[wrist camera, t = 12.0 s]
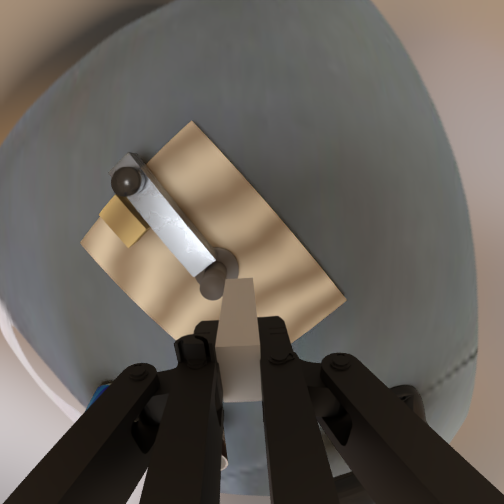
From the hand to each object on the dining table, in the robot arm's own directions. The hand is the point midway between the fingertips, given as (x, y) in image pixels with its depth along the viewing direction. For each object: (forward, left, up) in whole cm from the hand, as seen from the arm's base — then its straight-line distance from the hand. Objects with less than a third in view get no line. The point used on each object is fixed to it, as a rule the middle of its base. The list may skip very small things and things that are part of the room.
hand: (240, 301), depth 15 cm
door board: (-1, +4, -17) cm, 17 cm away
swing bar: (+7, +4, -15) cm, 17 cm away
